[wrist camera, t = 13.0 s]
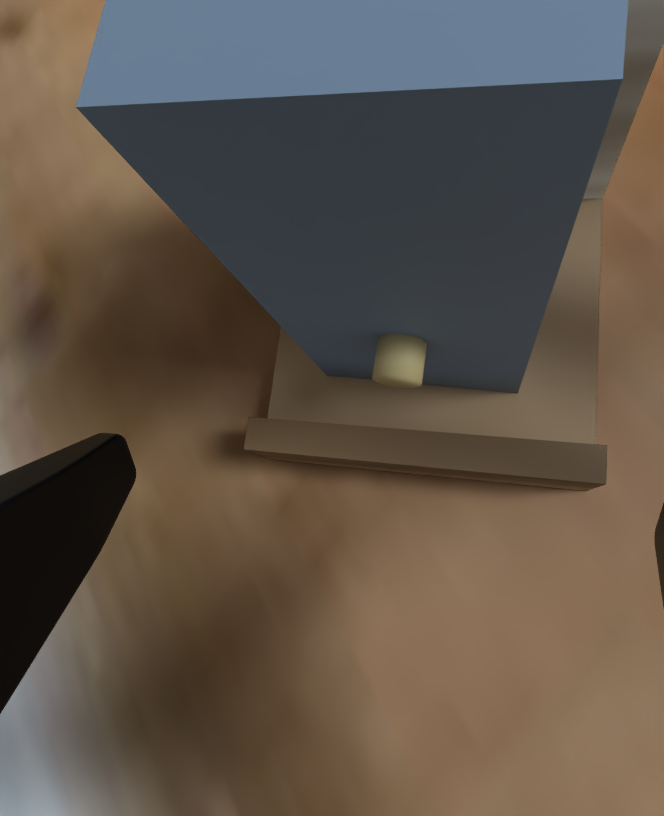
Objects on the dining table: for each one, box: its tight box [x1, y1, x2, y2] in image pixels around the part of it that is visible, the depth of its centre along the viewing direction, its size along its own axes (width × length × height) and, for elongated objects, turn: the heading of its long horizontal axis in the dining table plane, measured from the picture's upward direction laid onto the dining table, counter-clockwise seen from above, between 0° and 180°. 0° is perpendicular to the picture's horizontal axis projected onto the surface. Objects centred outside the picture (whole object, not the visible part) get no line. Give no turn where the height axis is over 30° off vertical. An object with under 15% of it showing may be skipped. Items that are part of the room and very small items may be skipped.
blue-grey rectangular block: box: [76, 0, 628, 393], centre depth 12 cm, size 7×6×12 cm
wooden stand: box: [244, 0, 664, 491], centre depth 14 cm, size 10×10×10 cm
